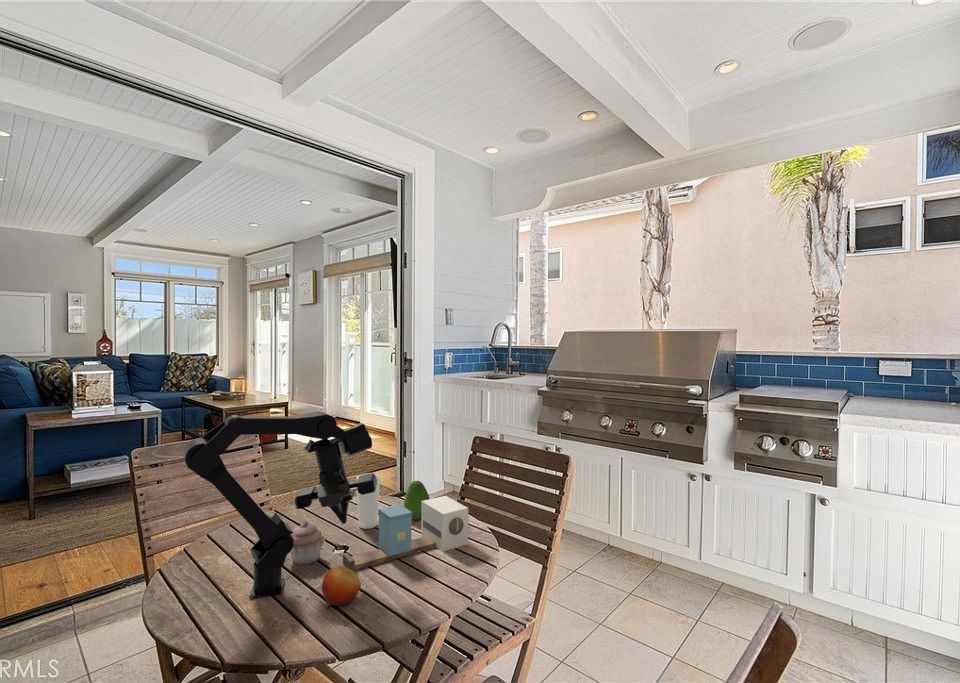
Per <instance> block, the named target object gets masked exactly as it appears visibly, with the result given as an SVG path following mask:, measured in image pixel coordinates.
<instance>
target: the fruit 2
mask: <svg viewBox="0 0 960 683" xmlns="http://www.w3.org/2000/svg"><path fill="white" fill-rule="evenodd" d="M429 495H430V494H429V493H428V491H427V488H426V487H425V485H424V483H422V482H421V481H420V480H413V481H411V483H410V484H409V486H408V488H407V491H406V494H405V498H404V500H403V507H405V508H406V509H408V510H409V511H411V512H412V520H414V521H418V520H421V501H424V500H429V499H431V498H430V496H429Z"/></svg>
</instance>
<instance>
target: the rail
mask: <svg viewBox="0 0 960 683" xmlns="http://www.w3.org/2000/svg"><path fill="white" fill-rule="evenodd" d="M434 548H437V547H436V542H435V541H433V540H432V539H431V538H429V537H428V536H426V537H422V536H421V537H418V538H416V539H411V550H410V551H407V552H403V553H400V554H396V555H393V556H389V555H388V554H387V553H386V552H385V551H384V550H382V549H381V548H377V549H373V550H371V551H367V552H363V553H359V554H355V555H352V556H351V555H350V554H349V553H348V552H345V553H342V564H343V566H344V567H345V568H348V569H351V570H352V571H357V570H360V569H364V568H367V567H371V566H374V565H377V564H378V565H379V564H381V563H385V562H389V561H392V560H395V559H398V557H399V558H402V556H403V557H405V555H406V556H409V554H410V555H413V554H416V553H415V552H417V553H419V552H418V551H420V552H423V551H422V550H424V551H426V550H427V551H428V550H430V549H434ZM412 553H413V554H412ZM388 560H389V561H388Z"/></svg>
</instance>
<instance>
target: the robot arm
mask: <svg viewBox="0 0 960 683" xmlns="http://www.w3.org/2000/svg"><path fill="white" fill-rule="evenodd" d="M337 424H338V423H337V420H336V418H335V417H334V416H333V415H331V414H328V413H325V412H324V411H319V410H318V411H312V412H307V413H302V414H298V415H294V416H293V415H292V416H290V415H289V416H288V415H287V416H286V415H285V416H283V415H281V416H280V415H277V416H275V415H273V416H271V415H269V416H268V415H262V416H261V415H255V416H254V415H238V414H232V415H229V416H227V417H226V419H225V420H223V421H222V422H220V424H218V425H216V426H215V427H213V428H211V429H210V430H209V431H207V432H206V433H205V434H203V435H202V436H201V437H198V438H195V439H192V440H190V441H189V442H188V443H187V444H185V446H184V447H183V450H182V455H183V456H182V457H183V460H184V462H185V465H186V467H187V468H188V469H189V470H190V471H191V472H193V473H195V474H196V475H197V476H199V477H200V478H202V479H203V480H205V481H206V482H209V483H210V484H211V485H213V486H214V487H215V488H216V489H217V491H218V492H220V494H221V495H222V496H223V498H225V499H226V500H227V501H228V503H230V505H231V506H232V507H233V509H235V511H237V513H239V514H240V516H241V517H242V518H243V519H244V520H245V521H246V523H247V524H248V525H249V526H251V528H252V529H253V531H254V532H255V533H256V535H257V537H258V540H257V541H256V543H255V544H254V545H253V546H252V547H251V548H250V553H251V556H252V558H253V559H254V563H253V586H252V587H251V589H250V593H249V599H254V598H255V599H256V598H262V597H268V596H269V597H270V596H277V595H278V596H279V595H282V594H283V593H282V592H283V588H284V585H285V581H286V578H285V577H282V572H283V571H282V570H283V569H282V567H284V564H285V562H286V560H287V559H286V558H287V556H288V554H290V553H291V552H290V551H291V549H292V547H293V544H294V539H293V537H292V536H291V535H292V534H293V531H294V530H293V529H291V527H290V526H289V525H288V523H287V522H285V521H283V519H282V517H281V516H280V515H279V513H278V512H275V513H274V514H273V515H272V516H271V515H270V514H268V513H266V512H265V511H264V510H263V508H262V507H261V506H260V505H259V504H258V503H257V502H256V501H255V500H254V498H253V497H252V496H251V495H250V494H249V493H248V492H247V490H246V489H245V488H244V487H243V486H242V485H241V483H239V481H238V480H236V478H235V476H234V475H232V474H231V472H230V471H229V470H228V469H227V467H226V465H225V463H224V462H223V459H222V458H221V456H220V455H222V454H223V453H224V452H225V451H227V449H228V448H229V447H230V445H232V443H234V441H235V440H236V439H237V438H238V437H240V436H242V435H243V436H245V435H246V436H247V435H249V436H251V435H254V436H257V435H258V436H259V435H263V436H264V435H298V436H302V437H308V438H312V439H319V440H316V441H314V440H312V439H309V440H308V442H307V444H306V445H305V447H304V451H306V452H307V453H308V454H311V453H314V455H315V460H316V463H317V468H318V471H319V473H318V477H319V485H318V488H317V487H316V486H315V485H313V486H308V487H303V488H301V489H300V490H299V491H298V493H297V495H296V496H295V498H294V505H295V509H296V510H301V509H306V508H309V507H310V506H311V505H312V503H313V500H317V499H318V500H319V503H320V505H321V506H320V507H322V508H326V507H328V508H330V510H331V511H332V512H333V513H334V514H335V516H336V517H337V518H338V521H339V522H341V525H344V524H346V523H347V520H348V519H347V518H348V510H349V504H350V501H352V500H353V498H354V495H355V492H356V490H358V493H360V494H361V495H364V494H368V493H373V492H374V491H375V490H376V486H377V479H376V476H375V475H374V474H375V473H374V474H373V472H370V473H371V474H366V473H365V474H366V475H362V476H359V478H358V481H357V480H356V481H353V482H349V479H348V476H347V474H346V469H345V463H344V459H343V456H342V454H343V455H347V456H348V457H351V456H355V455H357V454H360V453H362V452H365V451H368V450H371V449H372V447H373V441H372V440H373V439H372V437H371V436H370V433H369V431H368V429H367V428H366V424H365V423H363V422H359V423H357V424H355V425H353V426H350V427H347V428H345V429H344V428H342V427H340V426H338V425H337Z"/></svg>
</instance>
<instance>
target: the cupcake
mask: <svg viewBox="0 0 960 683" xmlns="http://www.w3.org/2000/svg"><path fill="white" fill-rule="evenodd" d="M292 531H293V534H291V536H292V537H293V539H294V544H293V547H292V549H291V551H290V552H289V553H290V555H291V560H292V562H293V563H294V564H295V565H300V566H301V565H303V566H305V565H309V564H313V563H315V562H317V561H318V560H319V559H320V556H321V552H322V547H323V545H324V543H325V541H326V539H325V536H324V535H322V531H321V529H320V528H319V527H318V526H317V525H316V524H315V523H314V522H312V521H307V520H305V521H303V522H302V523H301V525H298V526H296V527H295V528H294V529H293V530H292Z"/></svg>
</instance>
